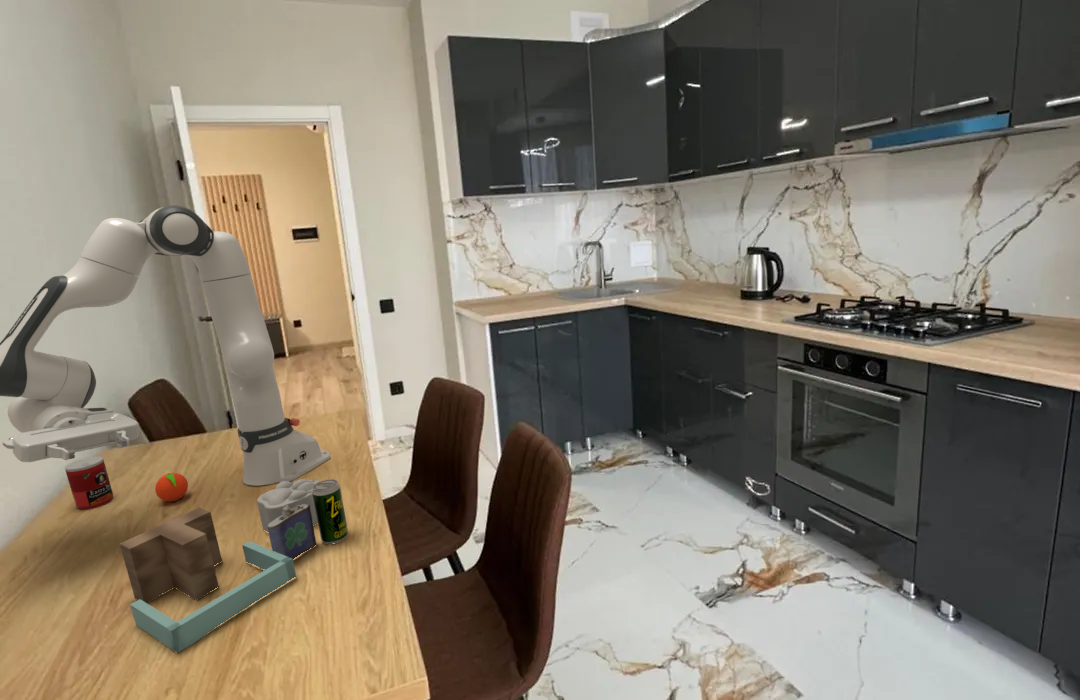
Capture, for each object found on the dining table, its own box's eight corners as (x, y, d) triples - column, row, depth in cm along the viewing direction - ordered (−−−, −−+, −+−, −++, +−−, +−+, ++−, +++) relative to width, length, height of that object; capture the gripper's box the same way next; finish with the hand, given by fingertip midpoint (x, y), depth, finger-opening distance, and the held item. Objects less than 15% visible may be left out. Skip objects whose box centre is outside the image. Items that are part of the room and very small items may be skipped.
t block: (211, 557, 116) (199, 507, 114) (245, 572, 110) (233, 520, 107) (134, 597, 105) (119, 543, 103) (166, 617, 99) (151, 560, 96)
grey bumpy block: (258, 527, 127) (250, 491, 125) (315, 503, 136) (308, 469, 134) (277, 542, 120) (269, 504, 118) (336, 516, 129) (329, 480, 127)
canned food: (94, 510, 142) (82, 469, 140) (68, 509, 144) (56, 469, 142) (121, 495, 150) (111, 456, 147) (96, 495, 151) (85, 456, 149)
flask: (281, 570, 110) (270, 518, 107) (271, 566, 111) (260, 516, 109) (320, 544, 118) (310, 496, 115) (310, 541, 119) (300, 494, 117)
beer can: (315, 544, 118) (305, 490, 115) (332, 530, 123) (322, 478, 120) (338, 546, 116) (327, 491, 113) (354, 532, 121) (344, 479, 118)
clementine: (196, 499, 144) (189, 472, 142) (164, 510, 139) (157, 483, 137) (186, 490, 149) (179, 465, 148) (155, 501, 144) (148, 475, 143)
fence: (253, 559, 114) (249, 541, 113) (296, 578, 107) (292, 558, 106) (136, 625, 97) (130, 604, 96) (177, 653, 90) (171, 631, 89)
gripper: (-3, 425, 110) (32, 447, 103) (117, 405, 128) (153, 423, 121) (-2, 457, 111) (33, 480, 105) (117, 432, 129) (153, 451, 123)
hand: (99, 449), depth 113 cm, fingers open, 8 cm apart
